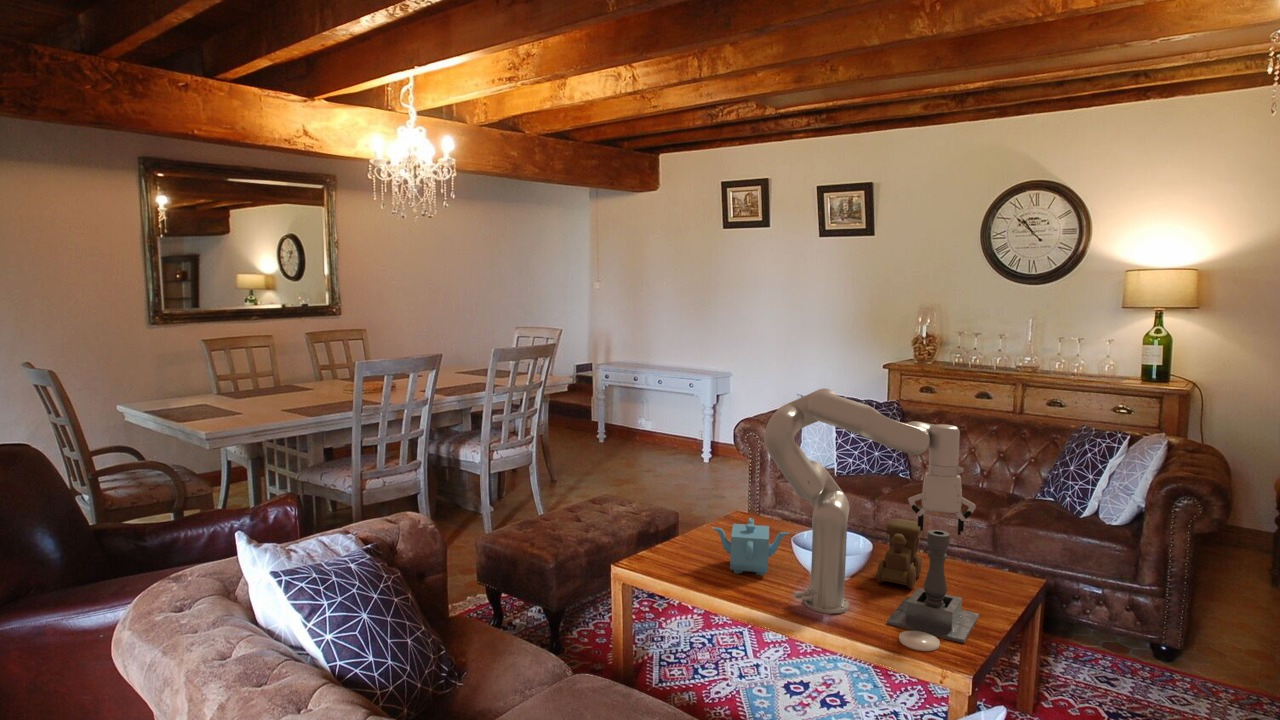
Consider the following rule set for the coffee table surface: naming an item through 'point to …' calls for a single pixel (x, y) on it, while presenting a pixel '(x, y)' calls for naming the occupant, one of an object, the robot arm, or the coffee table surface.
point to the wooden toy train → (901, 553)
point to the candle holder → (936, 567)
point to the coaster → (919, 640)
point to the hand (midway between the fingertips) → (940, 531)
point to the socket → (934, 617)
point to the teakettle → (749, 547)
